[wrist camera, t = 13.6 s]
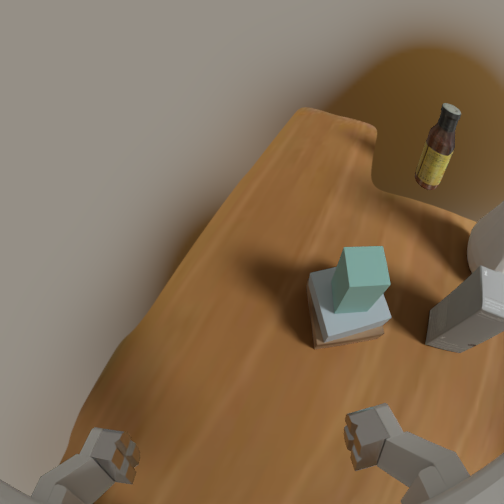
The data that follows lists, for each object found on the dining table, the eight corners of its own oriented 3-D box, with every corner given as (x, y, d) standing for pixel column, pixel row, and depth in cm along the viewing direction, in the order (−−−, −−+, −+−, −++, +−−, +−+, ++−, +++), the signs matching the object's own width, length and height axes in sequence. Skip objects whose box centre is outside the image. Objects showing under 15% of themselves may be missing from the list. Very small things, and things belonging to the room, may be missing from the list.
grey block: (382, 325, 37) (391, 317, 33) (324, 342, 37) (328, 336, 33) (363, 271, 41) (369, 258, 38) (308, 284, 41) (310, 273, 38)
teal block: (367, 311, 34) (390, 284, 26) (334, 313, 34) (349, 287, 27) (362, 279, 36) (382, 246, 28) (331, 281, 37) (343, 247, 29)
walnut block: (376, 339, 39) (384, 333, 36) (314, 349, 40) (317, 344, 37) (364, 281, 44) (370, 270, 41) (305, 289, 45) (307, 278, 42)
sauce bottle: (441, 191, 51) (474, 122, 34) (419, 191, 52) (450, 118, 35) (430, 170, 55) (456, 102, 37) (408, 170, 55) (433, 98, 38)
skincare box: (423, 345, 37) (478, 314, 23) (429, 305, 40) (478, 261, 26) (462, 354, 35) (521, 327, 21) (466, 316, 38) (520, 277, 24)
